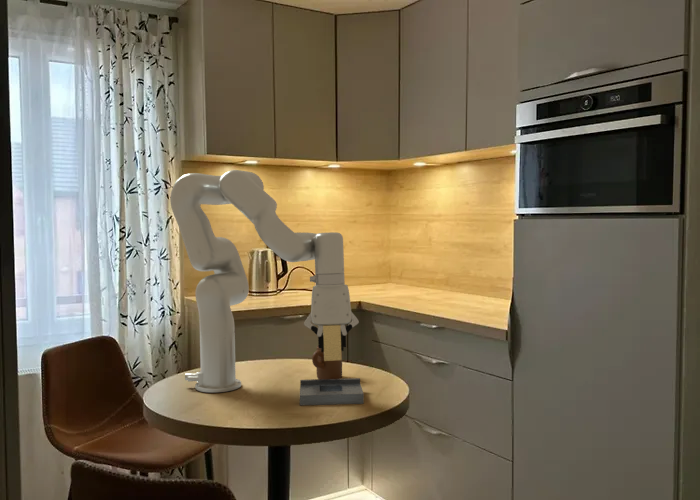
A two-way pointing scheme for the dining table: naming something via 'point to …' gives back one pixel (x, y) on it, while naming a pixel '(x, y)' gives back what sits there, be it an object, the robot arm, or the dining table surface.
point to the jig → (331, 391)
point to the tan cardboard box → (332, 342)
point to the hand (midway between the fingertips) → (332, 349)
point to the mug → (326, 366)
